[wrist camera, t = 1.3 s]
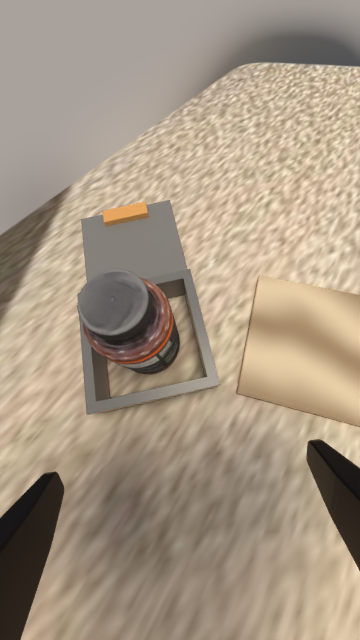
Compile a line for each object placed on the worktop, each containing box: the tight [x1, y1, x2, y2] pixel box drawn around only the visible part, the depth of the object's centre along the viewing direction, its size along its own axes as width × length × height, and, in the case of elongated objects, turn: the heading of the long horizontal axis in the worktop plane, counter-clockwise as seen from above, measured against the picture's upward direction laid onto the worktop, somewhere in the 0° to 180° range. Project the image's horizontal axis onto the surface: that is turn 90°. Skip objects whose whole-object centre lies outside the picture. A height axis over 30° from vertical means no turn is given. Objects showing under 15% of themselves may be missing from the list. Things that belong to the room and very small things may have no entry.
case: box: [78, 200, 220, 415], centre depth 24 cm, size 22×11×4 cm, turn 12°
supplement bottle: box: [78, 269, 180, 374], centre depth 18 cm, size 6×6×11 cm
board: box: [237, 275, 360, 426], centre depth 22 cm, size 12×12×1 cm
